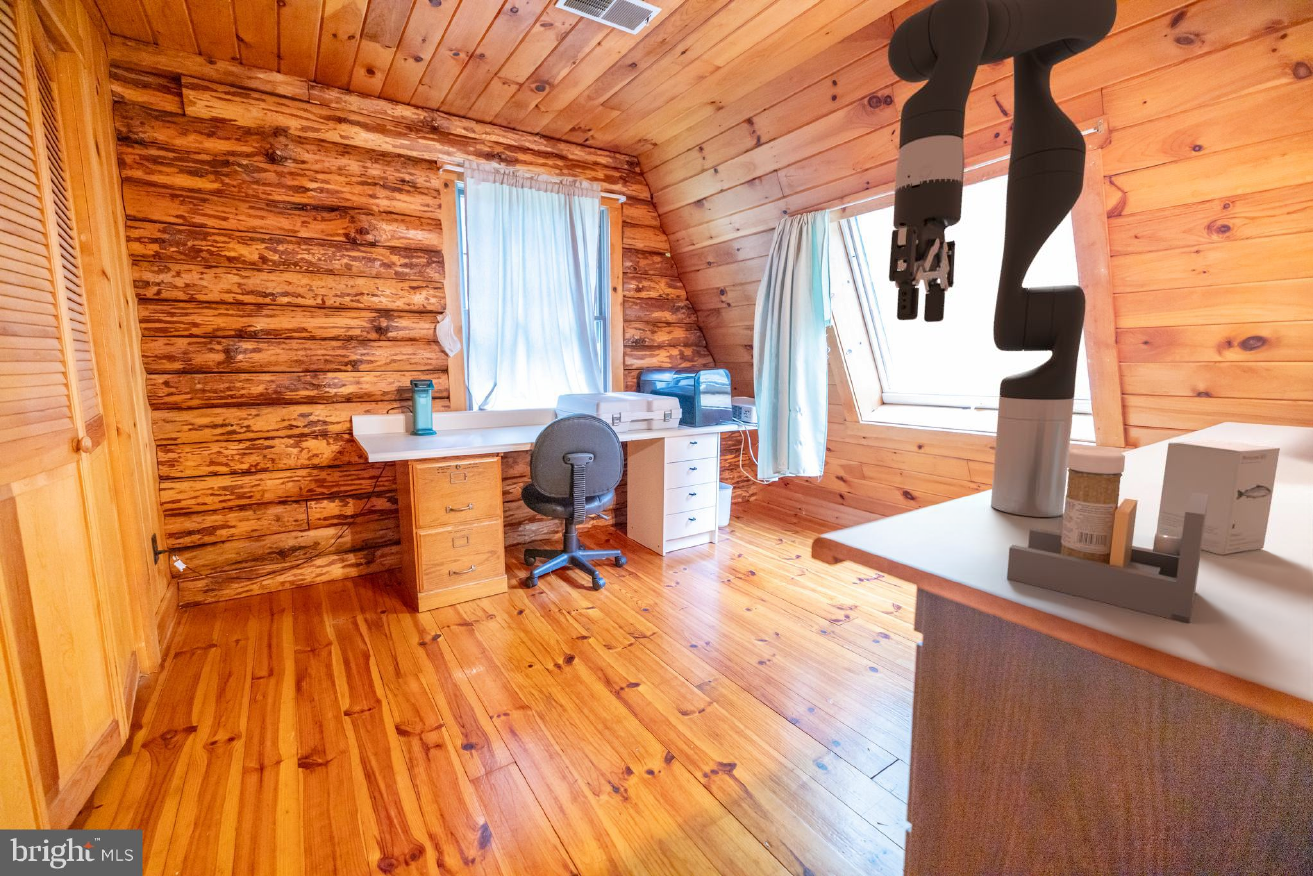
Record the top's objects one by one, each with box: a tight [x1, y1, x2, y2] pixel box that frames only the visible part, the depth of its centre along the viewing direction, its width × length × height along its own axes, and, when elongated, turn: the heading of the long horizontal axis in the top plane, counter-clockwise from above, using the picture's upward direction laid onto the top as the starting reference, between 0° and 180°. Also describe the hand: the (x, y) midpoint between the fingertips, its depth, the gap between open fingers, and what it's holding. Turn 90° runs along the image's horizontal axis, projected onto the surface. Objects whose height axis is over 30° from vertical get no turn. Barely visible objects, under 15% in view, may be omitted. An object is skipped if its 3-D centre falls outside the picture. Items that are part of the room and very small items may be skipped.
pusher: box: [1110, 498, 1161, 575], centre depth 55 cm, size 6×3×8 cm, turn 134°
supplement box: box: [1155, 439, 1281, 556], centre depth 68 cm, size 7×7×13 cm
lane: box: [1006, 493, 1209, 624], centre depth 57 cm, size 9×14×10 cm, turn 44°
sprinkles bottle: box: [1061, 448, 1126, 564], centre depth 57 cm, size 5×5×13 cm
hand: (920, 320), depth 70 cm, fingers open, 8 cm apart
